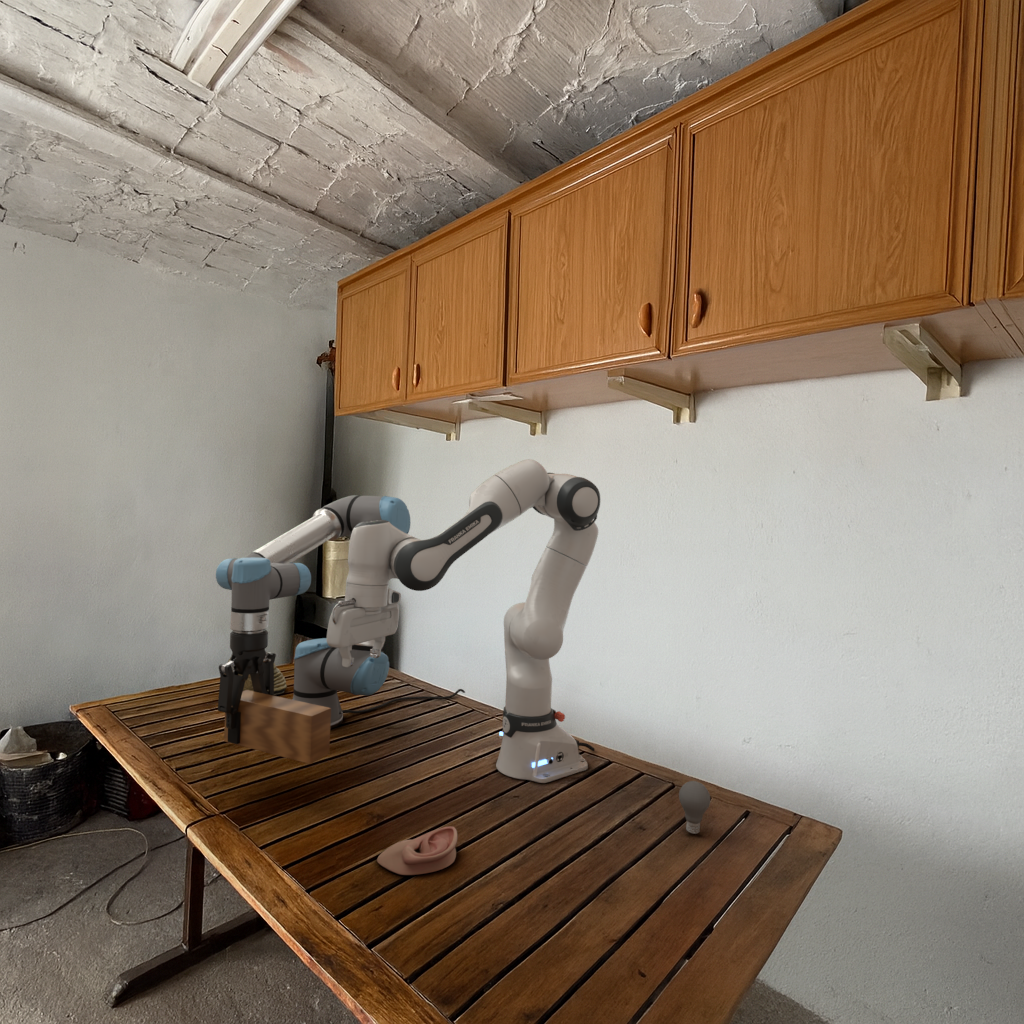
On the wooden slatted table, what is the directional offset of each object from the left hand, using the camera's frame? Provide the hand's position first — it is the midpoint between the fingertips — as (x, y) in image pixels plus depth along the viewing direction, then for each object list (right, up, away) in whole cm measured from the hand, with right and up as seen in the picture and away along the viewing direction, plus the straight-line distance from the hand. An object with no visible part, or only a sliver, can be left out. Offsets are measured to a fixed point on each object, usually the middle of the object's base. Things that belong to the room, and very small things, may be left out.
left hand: (245, 737), depth 136 cm
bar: (+8, -1, -3) cm, 9 cm away
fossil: (-23, -9, +62) cm, 67 cm away
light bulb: (+93, -15, -11) cm, 95 cm away
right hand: (+26, +17, -3) cm, 31 cm away
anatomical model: (+41, -13, -24) cm, 49 cm away
